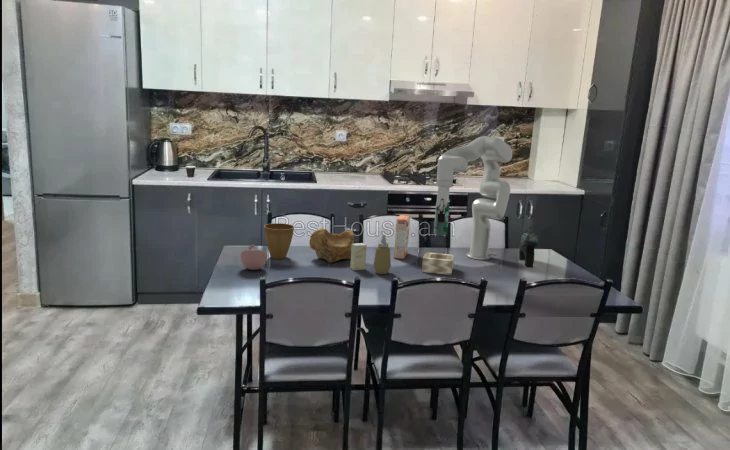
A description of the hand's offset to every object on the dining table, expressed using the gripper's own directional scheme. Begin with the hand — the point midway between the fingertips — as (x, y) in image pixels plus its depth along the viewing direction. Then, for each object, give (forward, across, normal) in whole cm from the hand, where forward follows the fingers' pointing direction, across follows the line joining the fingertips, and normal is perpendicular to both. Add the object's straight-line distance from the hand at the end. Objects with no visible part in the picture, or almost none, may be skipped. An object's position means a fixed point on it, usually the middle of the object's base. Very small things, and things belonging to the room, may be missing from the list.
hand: (441, 220), depth 261 cm
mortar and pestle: (+25, +32, -82) cm, 91 cm away
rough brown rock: (+25, +2, -52) cm, 58 cm away
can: (+7, 0, 0) cm, 7 cm away
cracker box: (+25, -20, -21) cm, 38 cm away
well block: (+25, 0, 0) cm, 25 cm away
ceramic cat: (+25, -31, +43) cm, 58 cm away
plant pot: (+25, +8, -79) cm, 83 cm away
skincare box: (+25, +12, -37) cm, 46 cm away
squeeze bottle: (+25, +14, -25) cm, 38 cm away
